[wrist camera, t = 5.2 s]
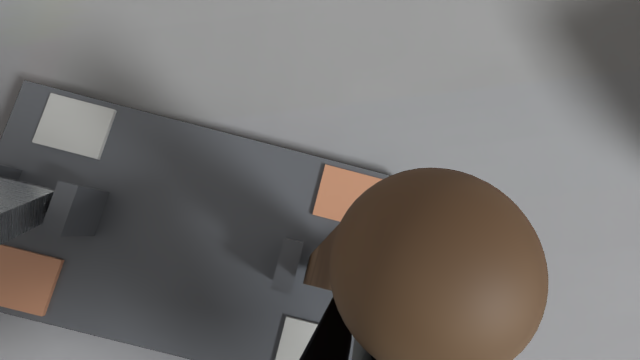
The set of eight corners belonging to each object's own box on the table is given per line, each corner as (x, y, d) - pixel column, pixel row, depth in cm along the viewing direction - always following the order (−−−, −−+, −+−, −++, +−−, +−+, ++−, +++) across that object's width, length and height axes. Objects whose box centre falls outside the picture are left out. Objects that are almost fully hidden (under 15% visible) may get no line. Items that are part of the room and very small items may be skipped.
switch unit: (364, 389, 18) (383, 433, 14) (-31, 291, 17) (-126, 308, 13) (409, 186, 19) (436, 175, 15) (45, 92, 19) (-20, 56, 15)
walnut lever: (358, 318, 16) (606, 451, 3) (293, 301, 16) (315, 378, 3) (371, 252, 16) (613, 172, 4) (309, 236, 16) (376, 109, 4)
